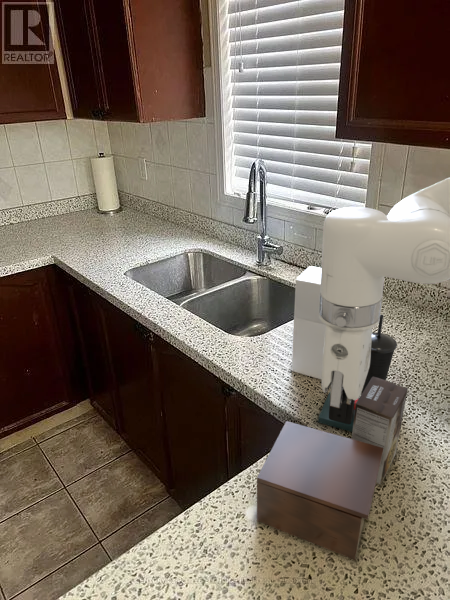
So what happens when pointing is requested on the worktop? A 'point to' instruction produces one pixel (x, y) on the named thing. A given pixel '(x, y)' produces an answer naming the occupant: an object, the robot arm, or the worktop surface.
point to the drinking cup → (380, 355)
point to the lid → (323, 468)
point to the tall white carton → (308, 325)
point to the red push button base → (325, 420)
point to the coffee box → (380, 419)
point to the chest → (309, 520)
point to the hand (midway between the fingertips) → (340, 418)
